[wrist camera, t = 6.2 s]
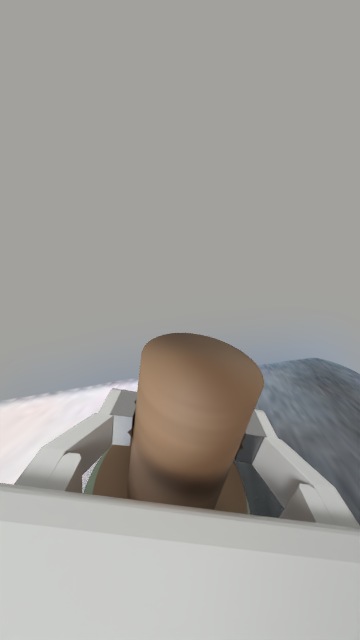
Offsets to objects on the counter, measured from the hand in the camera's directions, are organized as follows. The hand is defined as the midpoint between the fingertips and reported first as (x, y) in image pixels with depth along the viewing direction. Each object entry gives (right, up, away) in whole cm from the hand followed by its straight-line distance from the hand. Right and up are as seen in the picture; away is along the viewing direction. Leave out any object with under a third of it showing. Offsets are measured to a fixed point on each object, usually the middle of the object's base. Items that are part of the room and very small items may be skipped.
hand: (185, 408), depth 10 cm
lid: (-1, -5, +1) cm, 6 cm away
